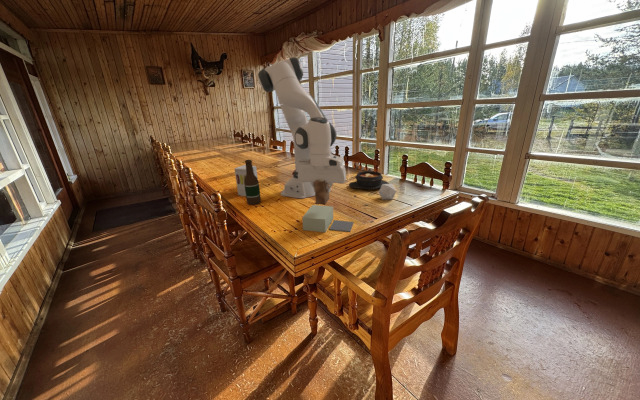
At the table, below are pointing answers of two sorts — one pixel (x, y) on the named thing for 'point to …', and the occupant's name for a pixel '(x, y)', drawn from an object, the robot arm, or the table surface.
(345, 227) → the mat
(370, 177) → the casserole
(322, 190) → the walnut block
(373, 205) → the table surface
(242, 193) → the supplement box
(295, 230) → the table surface
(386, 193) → the die
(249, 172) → the beer bottle
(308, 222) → the step
